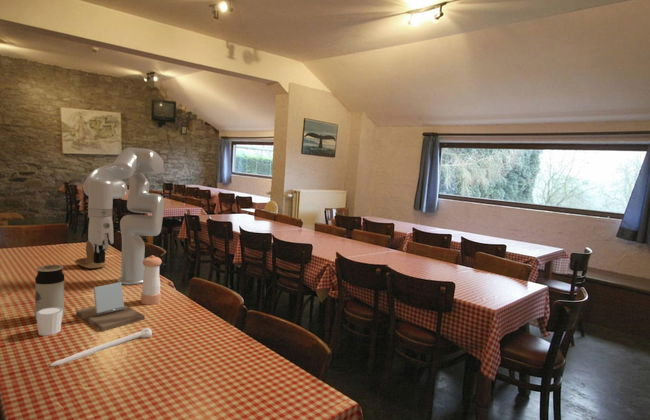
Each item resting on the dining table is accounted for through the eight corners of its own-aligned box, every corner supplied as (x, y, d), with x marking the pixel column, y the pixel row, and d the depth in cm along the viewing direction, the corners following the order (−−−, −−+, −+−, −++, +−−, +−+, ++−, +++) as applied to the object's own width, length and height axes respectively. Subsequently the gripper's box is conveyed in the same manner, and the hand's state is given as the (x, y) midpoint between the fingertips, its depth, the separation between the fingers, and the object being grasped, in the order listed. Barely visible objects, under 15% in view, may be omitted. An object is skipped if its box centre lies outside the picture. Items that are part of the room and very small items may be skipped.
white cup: (67, 330, 118) (68, 309, 117) (45, 338, 111) (45, 316, 110) (53, 325, 120) (53, 305, 119) (30, 333, 113) (30, 312, 113)
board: (76, 314, 130) (76, 310, 129) (116, 304, 141) (116, 301, 141) (102, 331, 118) (102, 327, 118) (144, 319, 130) (144, 315, 130)
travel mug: (61, 311, 131) (62, 263, 129) (65, 318, 125) (66, 268, 124) (33, 316, 125) (33, 266, 124) (36, 324, 120) (37, 271, 118)
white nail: (55, 372, 95) (55, 362, 94) (48, 366, 97) (48, 356, 97) (154, 336, 118) (155, 328, 118) (147, 333, 120) (147, 325, 120)
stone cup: (112, 267, 190) (112, 239, 188) (86, 271, 180) (87, 242, 179) (98, 261, 198) (99, 235, 197) (73, 265, 189) (74, 237, 187)
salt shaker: (164, 300, 149) (166, 255, 147) (149, 305, 143) (151, 258, 141) (152, 297, 152) (153, 252, 150) (136, 302, 146) (138, 255, 144)
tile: (93, 287, 127) (94, 287, 126) (119, 282, 134) (121, 282, 133) (96, 316, 126) (97, 316, 125) (122, 309, 134) (124, 309, 133)
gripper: (121, 215, 130) (119, 265, 132) (101, 210, 139) (100, 257, 140) (98, 216, 124) (97, 268, 125) (79, 211, 132) (79, 260, 134)
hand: (99, 262), depth 133 cm, fingers closed
